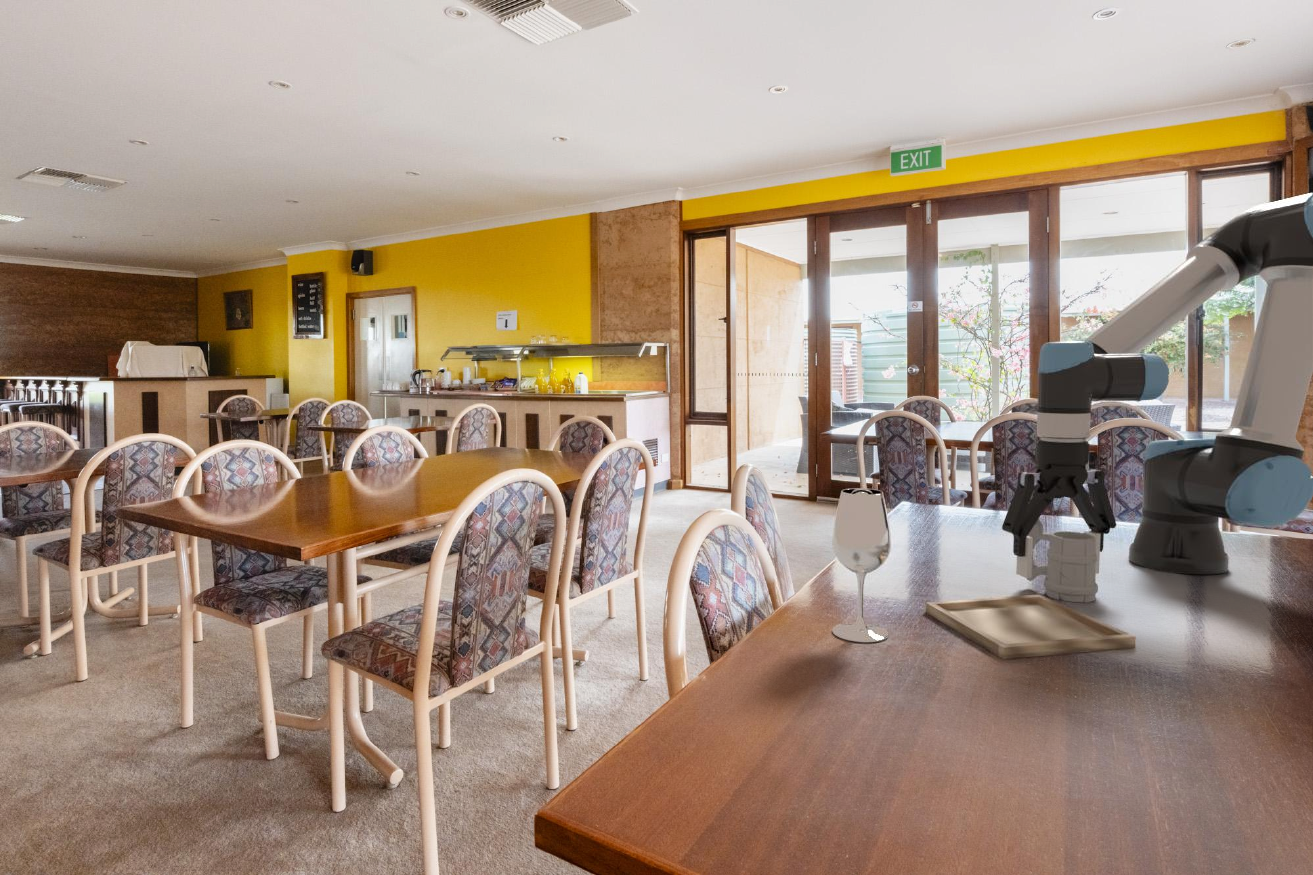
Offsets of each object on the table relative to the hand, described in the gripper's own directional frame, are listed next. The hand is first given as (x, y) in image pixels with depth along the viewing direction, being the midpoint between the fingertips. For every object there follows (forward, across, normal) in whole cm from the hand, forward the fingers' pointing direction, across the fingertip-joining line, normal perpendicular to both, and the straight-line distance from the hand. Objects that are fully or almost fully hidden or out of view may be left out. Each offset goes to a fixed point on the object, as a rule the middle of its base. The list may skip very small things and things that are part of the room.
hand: (1057, 573), depth 125 cm
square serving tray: (+3, +16, +14) cm, 21 cm away
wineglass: (+3, +39, +11) cm, 41 cm away
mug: (+3, 0, 0) cm, 3 cm away
